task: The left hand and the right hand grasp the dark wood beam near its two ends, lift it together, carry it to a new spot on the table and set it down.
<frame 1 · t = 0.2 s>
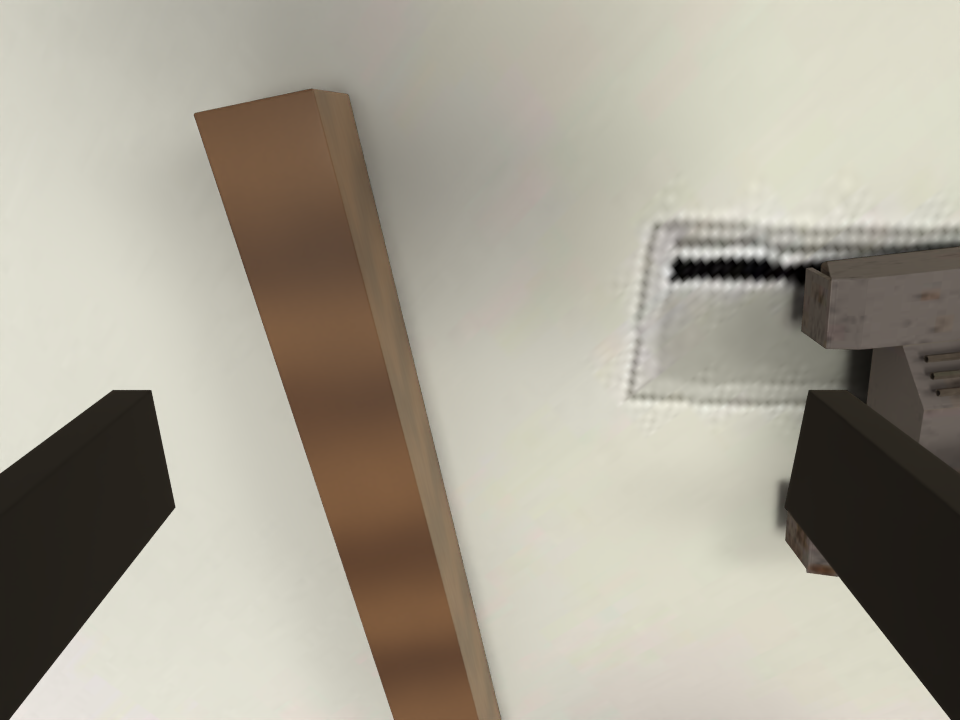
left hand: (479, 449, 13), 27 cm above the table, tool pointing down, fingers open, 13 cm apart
beam: (402, 480, 45), on the table
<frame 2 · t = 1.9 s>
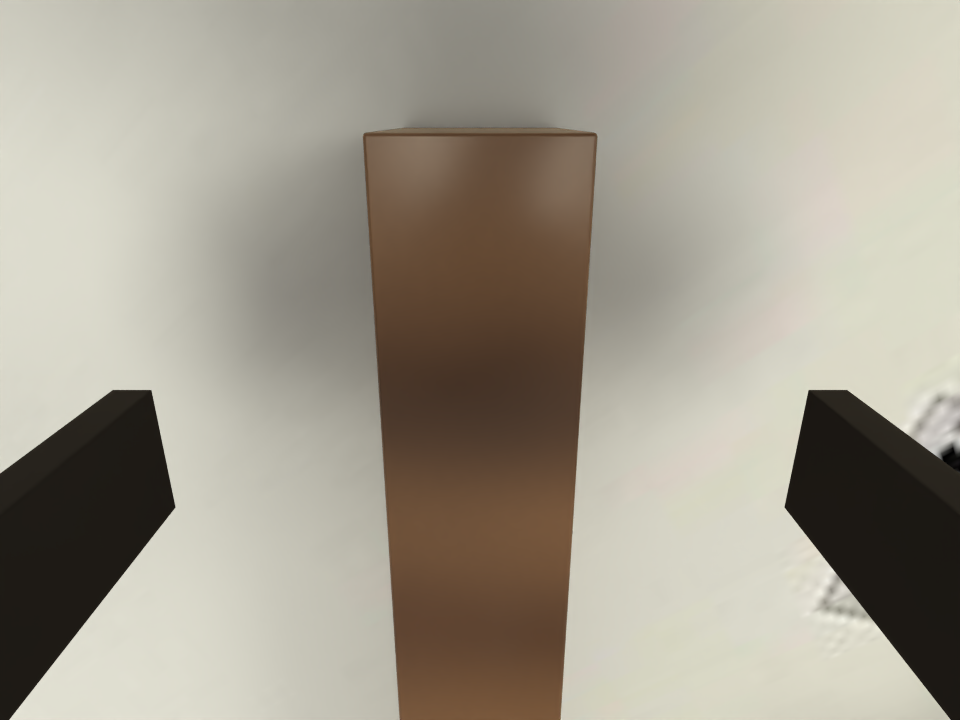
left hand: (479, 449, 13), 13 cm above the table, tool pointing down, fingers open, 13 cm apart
beam: (480, 663, 31), on the table
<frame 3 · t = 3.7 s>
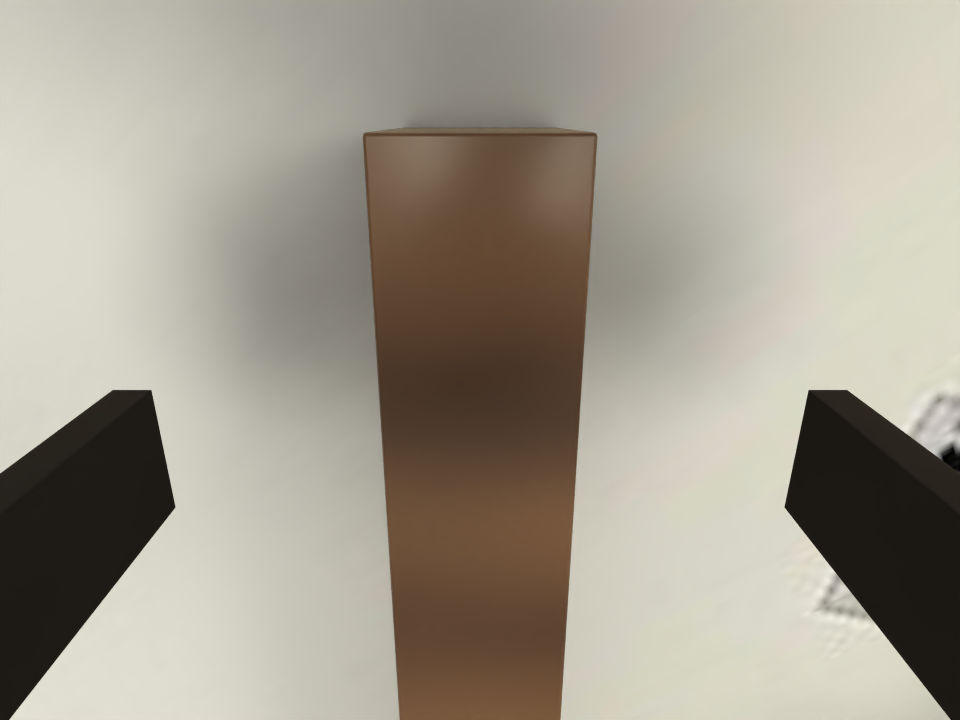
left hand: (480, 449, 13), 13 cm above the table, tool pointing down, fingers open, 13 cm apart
beam: (480, 663, 31), on the table, touching right hand
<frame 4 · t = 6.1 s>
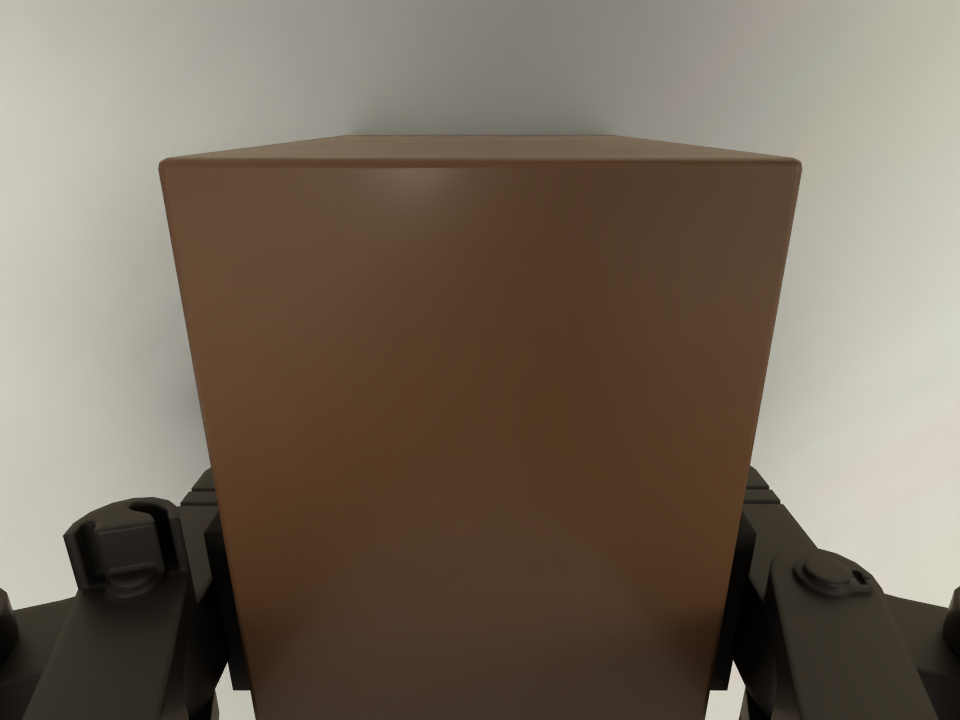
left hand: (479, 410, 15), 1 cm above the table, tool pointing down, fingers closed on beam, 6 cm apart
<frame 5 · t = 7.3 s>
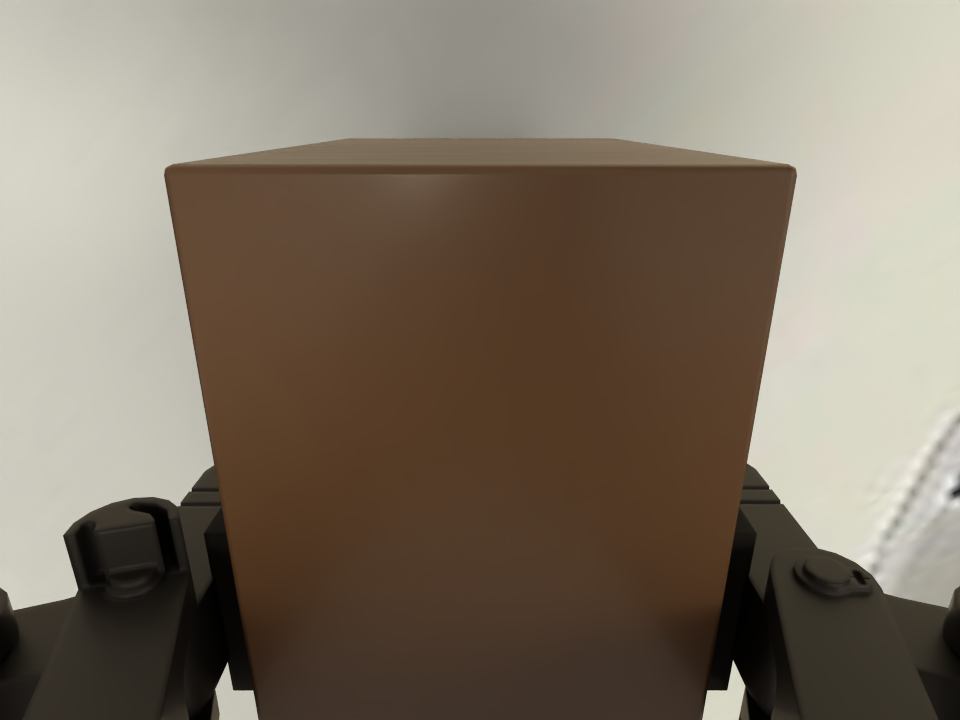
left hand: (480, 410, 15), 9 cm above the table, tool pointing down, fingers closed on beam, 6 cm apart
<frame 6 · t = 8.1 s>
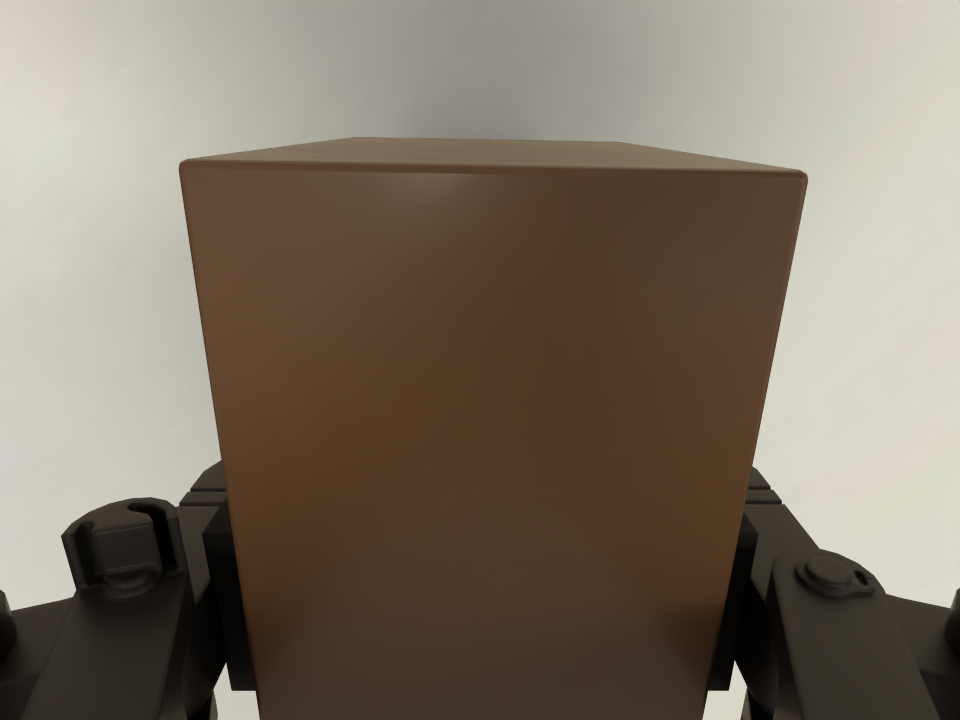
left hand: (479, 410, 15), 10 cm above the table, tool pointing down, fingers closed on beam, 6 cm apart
when the left hand's fingers open (2 cm above the table, at t = 10.4 s): beam drops 2 cm, held by the right hand.
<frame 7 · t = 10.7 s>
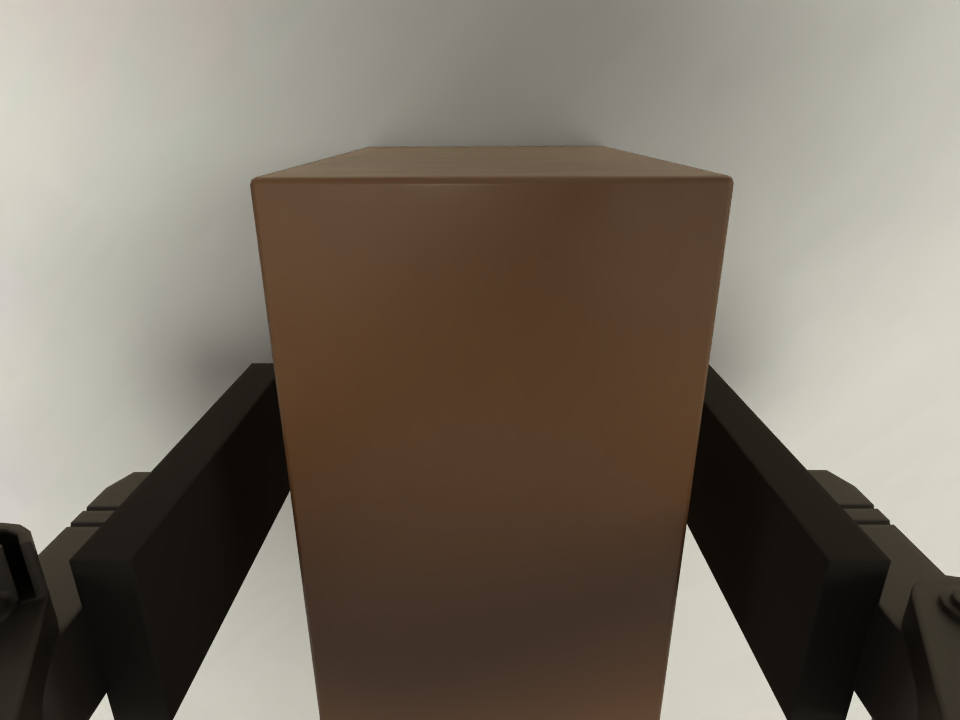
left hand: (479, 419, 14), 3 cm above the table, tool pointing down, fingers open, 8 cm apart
when the right hand's fingers open (4 cm above the table, at t = 10.7 s): beam stays where it is, on the table.
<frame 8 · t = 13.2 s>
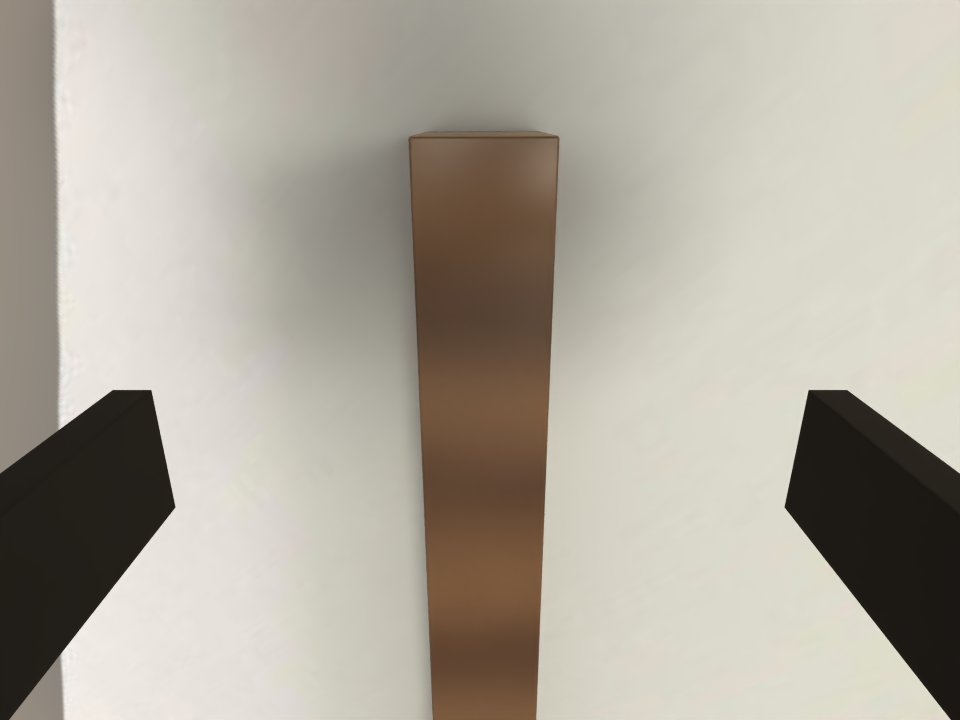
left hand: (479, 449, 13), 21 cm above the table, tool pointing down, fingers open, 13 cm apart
beam: (483, 554, 40), on the table
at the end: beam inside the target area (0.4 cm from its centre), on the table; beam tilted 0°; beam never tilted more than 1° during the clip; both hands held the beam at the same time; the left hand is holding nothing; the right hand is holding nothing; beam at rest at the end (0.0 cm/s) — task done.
